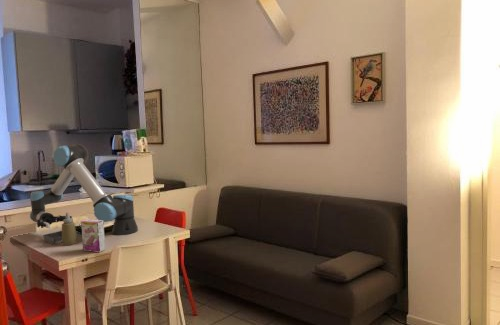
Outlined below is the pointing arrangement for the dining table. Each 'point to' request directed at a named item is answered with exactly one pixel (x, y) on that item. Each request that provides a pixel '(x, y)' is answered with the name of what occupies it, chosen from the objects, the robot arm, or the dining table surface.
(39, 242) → the dining table surface
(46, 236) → the dark grey tray
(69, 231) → the squeeze bottle
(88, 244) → the candy bar box
